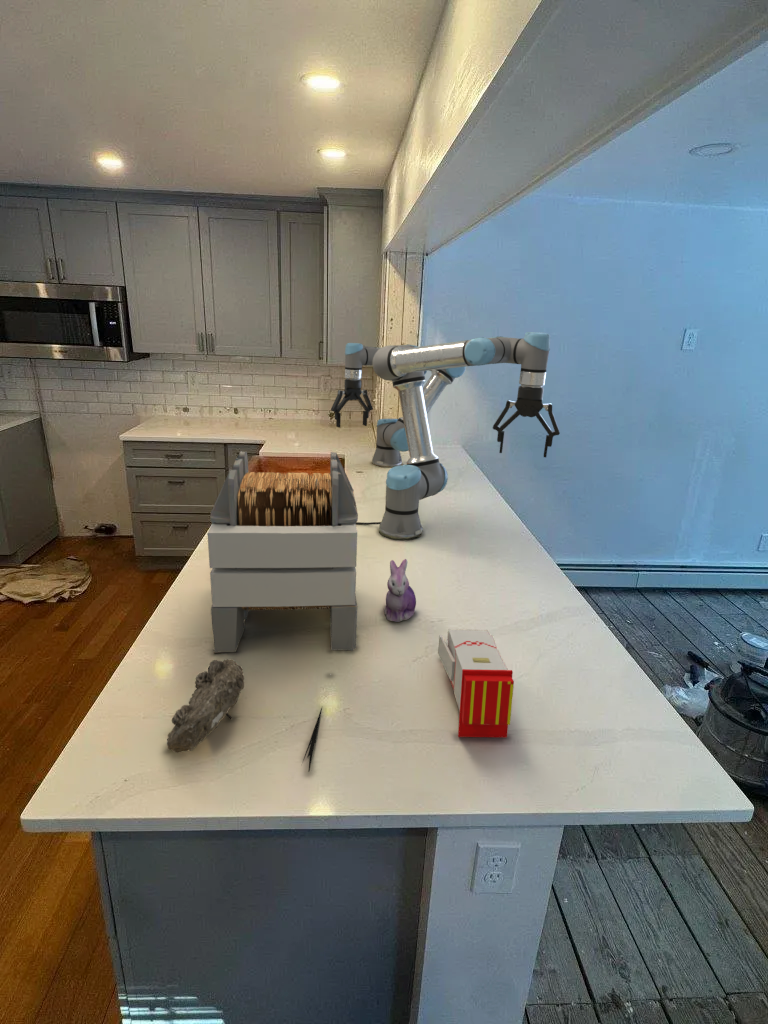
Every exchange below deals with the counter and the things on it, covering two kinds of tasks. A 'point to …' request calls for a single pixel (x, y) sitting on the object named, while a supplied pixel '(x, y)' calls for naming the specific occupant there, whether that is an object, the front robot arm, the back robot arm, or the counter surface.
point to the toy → (478, 682)
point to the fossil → (206, 705)
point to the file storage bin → (283, 549)
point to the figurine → (399, 594)
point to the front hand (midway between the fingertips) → (522, 454)
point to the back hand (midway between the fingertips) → (351, 426)
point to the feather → (313, 740)
